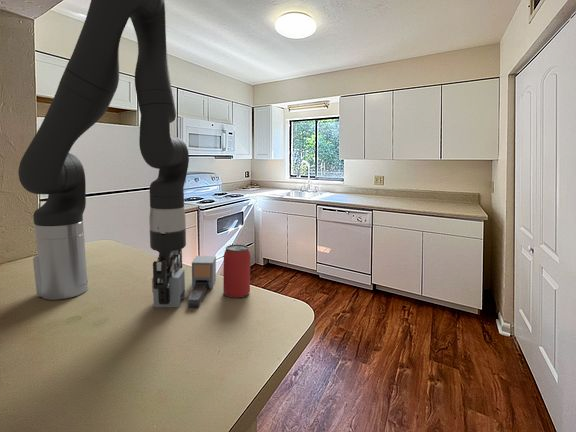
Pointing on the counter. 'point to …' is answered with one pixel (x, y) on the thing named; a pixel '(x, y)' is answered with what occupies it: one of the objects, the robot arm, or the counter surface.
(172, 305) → the grey block
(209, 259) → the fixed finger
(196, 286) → the rail
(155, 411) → the counter surface
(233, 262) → the beer can
